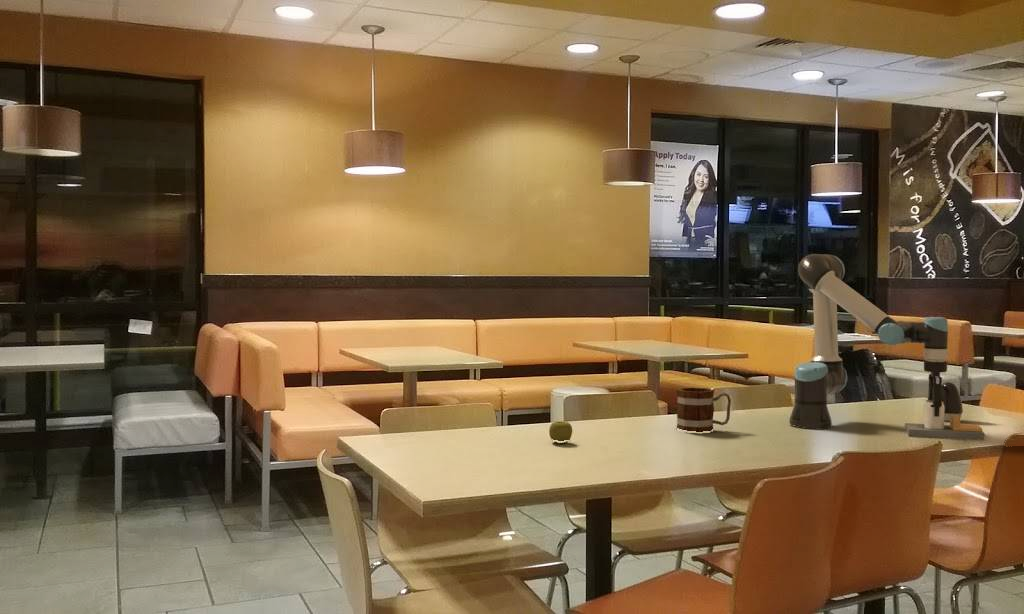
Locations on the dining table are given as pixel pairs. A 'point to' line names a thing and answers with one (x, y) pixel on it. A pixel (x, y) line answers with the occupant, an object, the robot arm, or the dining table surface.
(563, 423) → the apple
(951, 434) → the socket plate
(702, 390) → the mug
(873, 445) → the dining table surface
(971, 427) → the orange l-shaped block
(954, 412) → the black rounded upright piece
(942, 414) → the can
